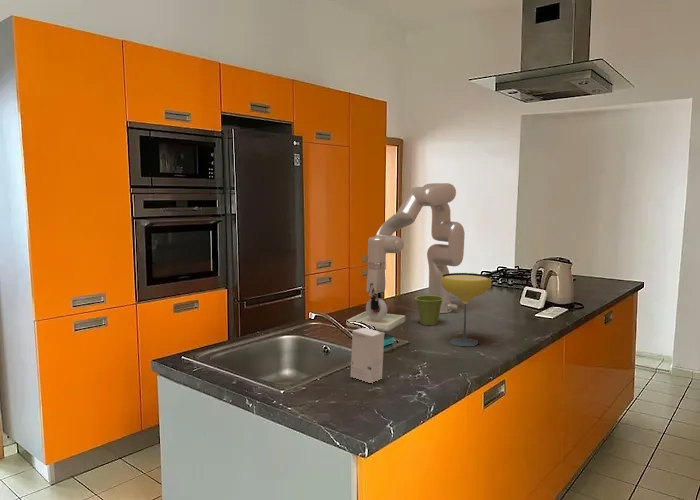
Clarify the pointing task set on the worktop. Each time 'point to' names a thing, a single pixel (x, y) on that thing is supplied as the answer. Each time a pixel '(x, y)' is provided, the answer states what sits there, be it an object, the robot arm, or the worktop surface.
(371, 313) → the donut
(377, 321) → the tray
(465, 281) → the cocktail glass
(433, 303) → the plant pot
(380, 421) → the worktop surface
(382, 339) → the skincare box
